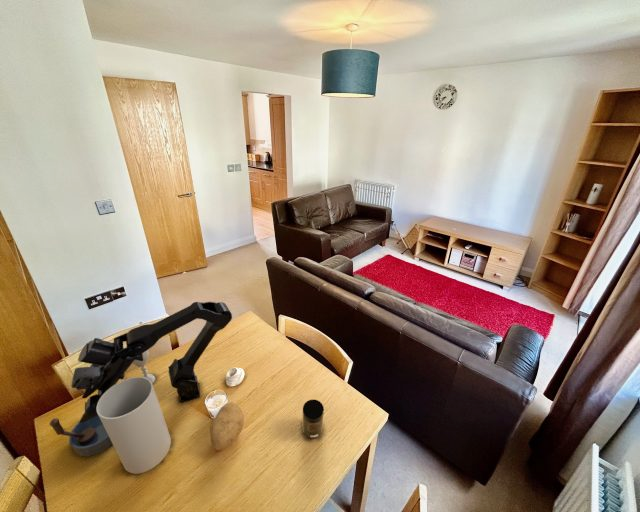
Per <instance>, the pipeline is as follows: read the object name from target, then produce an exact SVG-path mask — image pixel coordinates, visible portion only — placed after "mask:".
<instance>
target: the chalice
mask: <svg viewBox="0 0 640 512" xmlns="http://www.w3.org/2000/svg"><path fill="white" fill-rule="evenodd" d="M124 348H126V345H125V346H124ZM143 359H144V360H143V361H138V360H134V362H133V363H132V364H133V365H134V366H137V367H138V368H140V370H141V371H142V372H141V374H142V375H143V376H142V377H145V378H148V379H149V380H150V381H151V382H152V384H153V383H155V381H156V377H155V376H154V375H153V374H151V373H148V370H147V367H146V366H145V365H146V364H147V362H148V359H149V349H148V350H147V351H145V352H144V353H143Z"/></svg>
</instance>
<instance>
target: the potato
mask: <svg viewBox="0 0 640 512" xmlns="http://www.w3.org/2000/svg"><path fill="white" fill-rule="evenodd" d="M212 420H213V421H212V422H211V424H210V427H209V434H210V442H211V445H212V447H213V448H214V449H215V450H217V451H226V450H227V449H228V448H230V447H231V446H232V445H233V444H234V443H235V442H236V441H237V440H238V438H239V435H240V433H241V431H242V428H243V426H244V413H243V409H242V408H241V407H240V405H239V404H237V403H235V402H226V403H224V404H223V405H222V406H221V407H220V408H219V410H218V412H217V413H216V416H215V417H214V419H212Z"/></svg>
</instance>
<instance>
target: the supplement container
mask: <svg viewBox="0 0 640 512" xmlns="http://www.w3.org/2000/svg"><path fill="white" fill-rule="evenodd" d="M324 411H325V407H324V404H323V403H322V402H321V401H320V400H318V399H309V400H307V401H305V402H304V404H303V406H302V432H303V434H304V435H305V437H306V438H307V439H311V440H314V439H315V440H316V439H318V438H319V437H320V436H321V435H322V433H323V428H324V414H325V412H324Z"/></svg>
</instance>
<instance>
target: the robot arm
mask: <svg viewBox="0 0 640 512" xmlns="http://www.w3.org/2000/svg"><path fill="white" fill-rule="evenodd" d="M232 319H233V314H232V312H231V310H230V309H229V307H228V306H227V304H226V303H225V302H222V301H221V302H219V301H218V302H215V301H204V302H203V301H201V302H200V301H194V302H192V303H191V304H190V305H188V306H186V307H184V308H182V309H181V310H178V311H176V312H174V313H173V314H170V315H169V316H166V317H165V318H162V319H161V320H158V321H157V322H154V323H151V324H143V325H139V326H136V327H134V328H132V329H130V330H129V331H128V332H125V333H123V334H120V335H118V336H116V337H114V338H113V342H112V341H107V340H103V339H101V338H98V337H95V338H93V340H90V341H88V342H87V343H86V344H85V345H84V346H83V347H82V349H81V351H80V353H79V355H78V357H77V361H78V362H80V363H84V364H89V365H90V366H81V367H80V366H79V367H76V368H75V369H74V371H73V375H72V379H71V384H70V386H71V388H72V389H75V390H76V391H80V390H84V391H83V394H82V396H81V398H82V399H87V401H86V402H84V413H83V414H82V416H81V417H80V420H79V421H80V423H84V422H86V421H88V420H89V419H91V418H93V417H95V416H97V415H98V413H97V410H96V408H97V403H98V401H99V399H100V398H101V397H102V395H103V394H104V393H105V392H106V391H107V390H108V389H109V388H111V387H112V386H114V385H115V384H117V383H119V381H120V380H121V381H123V380H124V379H125V376H126V375H125V373H126V372H127V371H128V369H129V368H130V367H131V365H132V364H133V362H134V360H138V361H143V360H144V359H143V353H144V352H145V351H147V350H148V351H149V350H150V349H151V348H153V347H154V346H155V345H156V344H157V343H158V341H159V340H160V339H162V338H163V337H165V336H167V335H169V334H170V333H173V332H174V331H176V330H178V329H180V328H182V327H184V326H186V325H188V324H189V323H191V322H193V321H195V320H203V321H205V324H204V325H203V327H202V329H201V330H200V332H199V333H198V335H197V336H196V338H195V339H194V340H193V342H192V343H191V345H190V347H189V348H188V349H187V351H186V352H185V354H184V356H182V357H181V358H179V359H177V358H173V361H172V363H171V364H170V365H169V366H168V376H169V380H170V384H171V387H172V388H173V389H176V393H177V397H178V399H180V400H179V401H180V403H181V404H184V403H186V402H190V401H193V400H195V399H198V398H201V388H200V382H199V380H198V376H197V375H196V373H195V370H194V369H195V366H196V364H197V362H198V361H199V359H200V358H201V356H202V355H203V353H204V352H205V351H206V349H207V348H208V346H209V344H211V342H212V340H213V339H214V337H215V336H216V334H217V333H218V332H220V331H222V330H223V329H225V328H226V327H227V326H228V324H230V322H231V321H232ZM124 343H125V346H126V348H125V347H124ZM96 391H97V394H94V393H95V392H96ZM93 394H94V395H93Z"/></svg>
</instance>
